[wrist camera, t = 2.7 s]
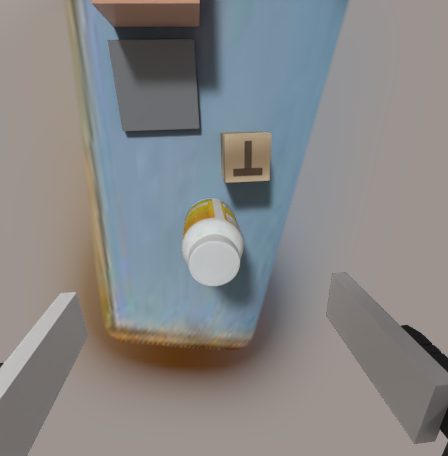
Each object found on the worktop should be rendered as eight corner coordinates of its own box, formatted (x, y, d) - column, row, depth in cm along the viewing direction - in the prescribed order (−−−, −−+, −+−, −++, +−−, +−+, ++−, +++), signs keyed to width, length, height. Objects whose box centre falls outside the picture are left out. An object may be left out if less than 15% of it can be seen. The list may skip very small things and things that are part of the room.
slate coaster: (109, 41, 22) (107, 40, 22) (194, 40, 23) (193, 39, 22) (124, 130, 25) (122, 131, 24) (199, 128, 26) (199, 128, 25)
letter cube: (220, 132, 26) (224, 135, 22) (260, 131, 26) (271, 133, 23) (221, 174, 28) (225, 184, 24) (259, 173, 28) (269, 181, 24)
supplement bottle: (239, 203, 29) (259, 240, 20) (227, 246, 31) (239, 298, 22) (190, 191, 28) (187, 226, 19) (180, 237, 30) (173, 288, 21)
